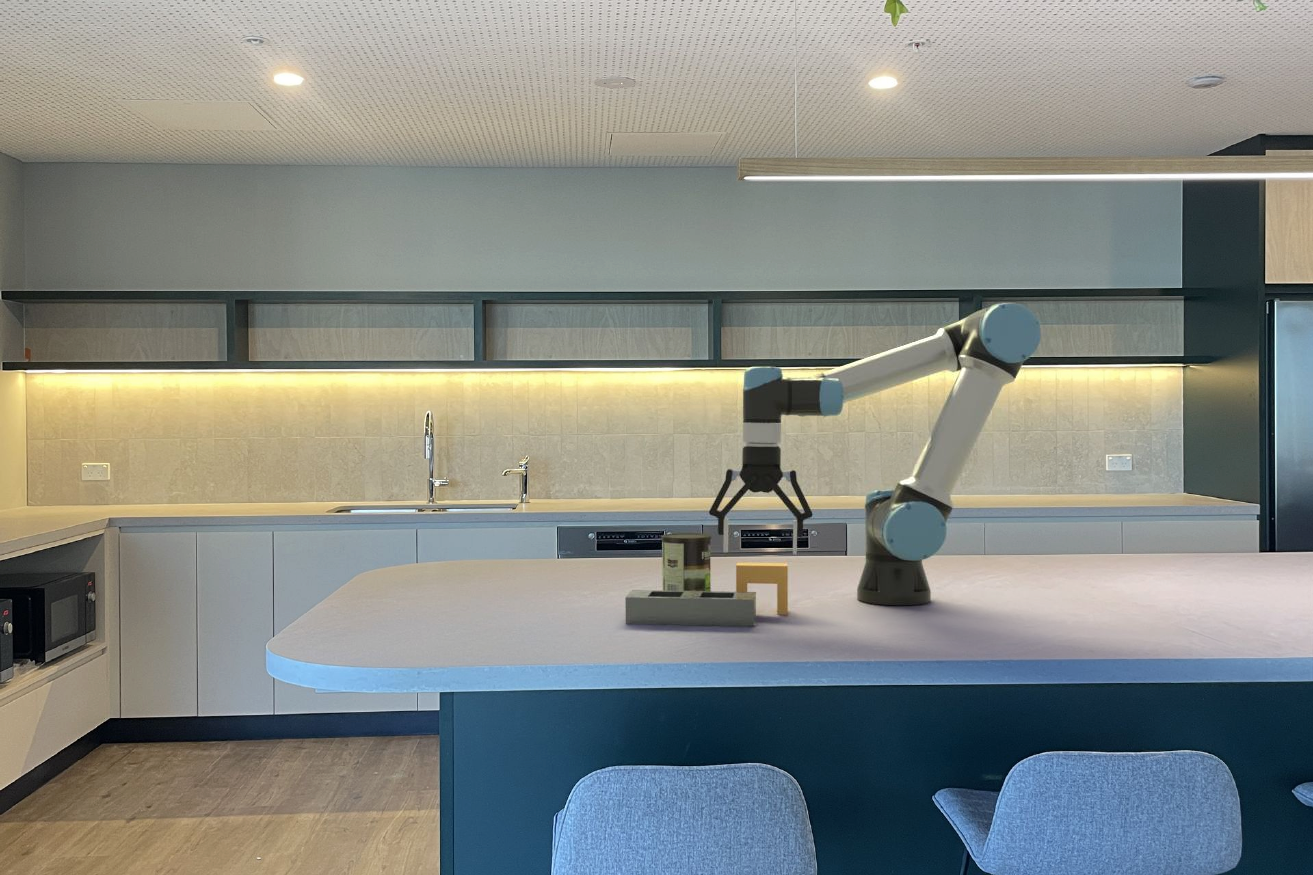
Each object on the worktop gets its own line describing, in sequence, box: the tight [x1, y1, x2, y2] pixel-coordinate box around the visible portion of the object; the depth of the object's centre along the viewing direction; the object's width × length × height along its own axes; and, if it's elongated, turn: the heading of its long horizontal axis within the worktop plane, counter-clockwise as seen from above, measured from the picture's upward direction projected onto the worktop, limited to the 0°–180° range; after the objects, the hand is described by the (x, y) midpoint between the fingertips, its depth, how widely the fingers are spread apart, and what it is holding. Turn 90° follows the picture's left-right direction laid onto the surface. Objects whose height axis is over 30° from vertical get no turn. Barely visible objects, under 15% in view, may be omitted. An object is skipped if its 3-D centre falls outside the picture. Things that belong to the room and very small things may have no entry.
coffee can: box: [661, 532, 712, 591], centre depth 223 cm, size 10×10×14 cm
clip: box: [735, 562, 789, 615], centre depth 212 cm, size 10×4×10 cm, turn 82°
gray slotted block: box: [624, 589, 757, 628], centre depth 203 cm, size 24×8×5 cm, turn 83°
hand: (760, 552), depth 212 cm, fingers open, 13 cm apart
